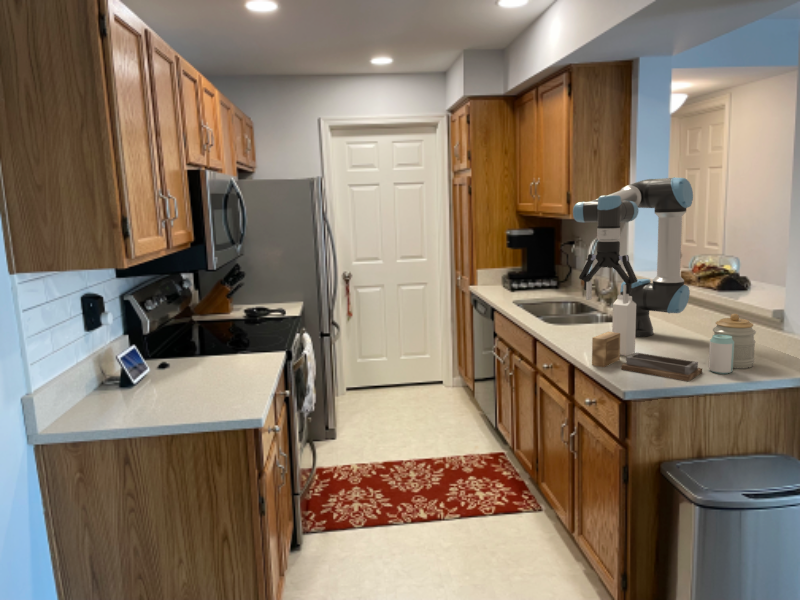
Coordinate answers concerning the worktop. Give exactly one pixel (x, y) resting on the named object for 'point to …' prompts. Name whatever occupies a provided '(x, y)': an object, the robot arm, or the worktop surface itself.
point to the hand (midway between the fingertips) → (606, 301)
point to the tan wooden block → (605, 349)
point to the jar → (738, 339)
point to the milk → (625, 324)
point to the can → (721, 354)
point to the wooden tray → (662, 366)
